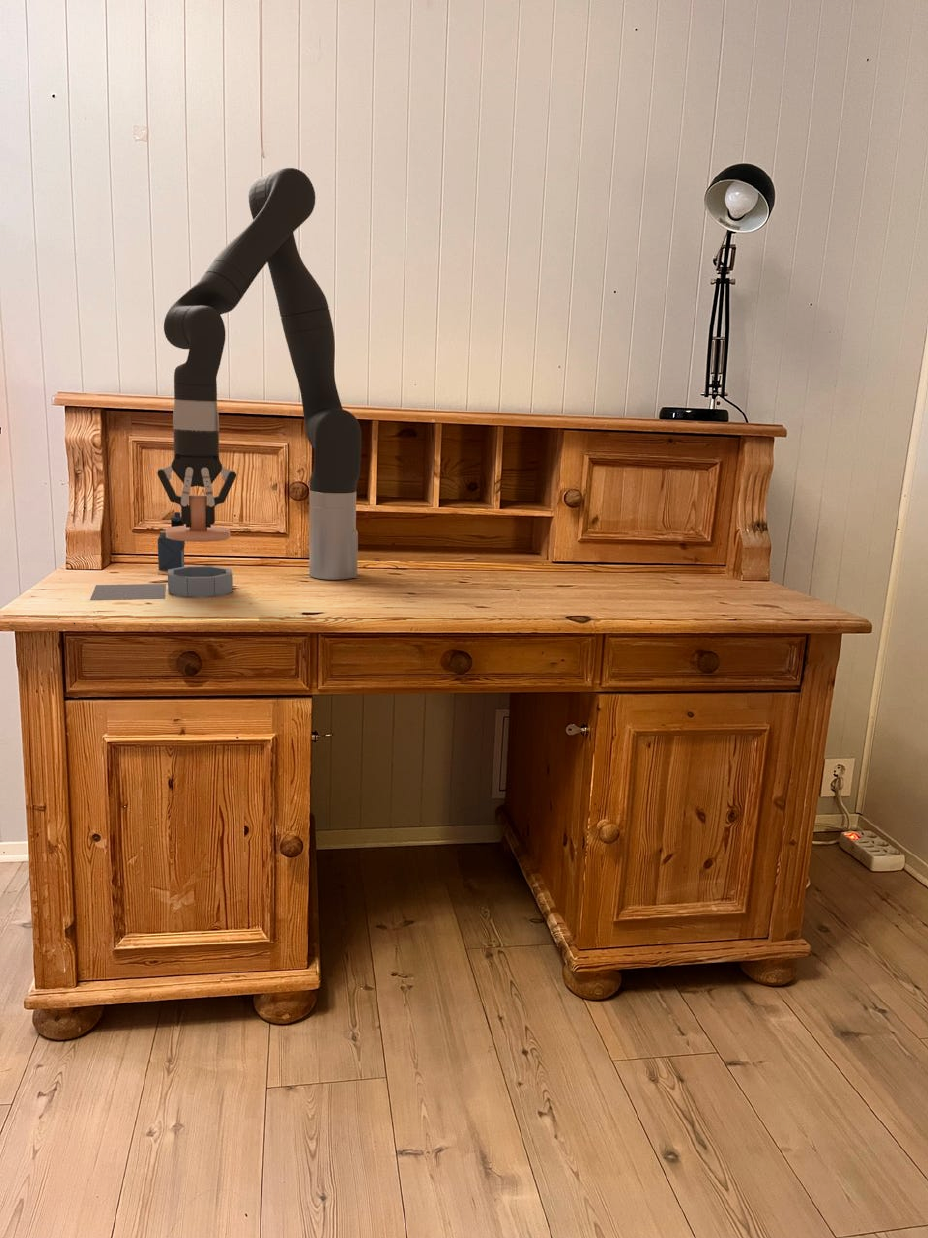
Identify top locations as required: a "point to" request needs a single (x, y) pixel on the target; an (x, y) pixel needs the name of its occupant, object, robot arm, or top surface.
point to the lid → (198, 525)
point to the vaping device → (171, 548)
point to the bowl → (200, 581)
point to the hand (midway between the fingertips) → (198, 526)
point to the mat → (129, 592)
